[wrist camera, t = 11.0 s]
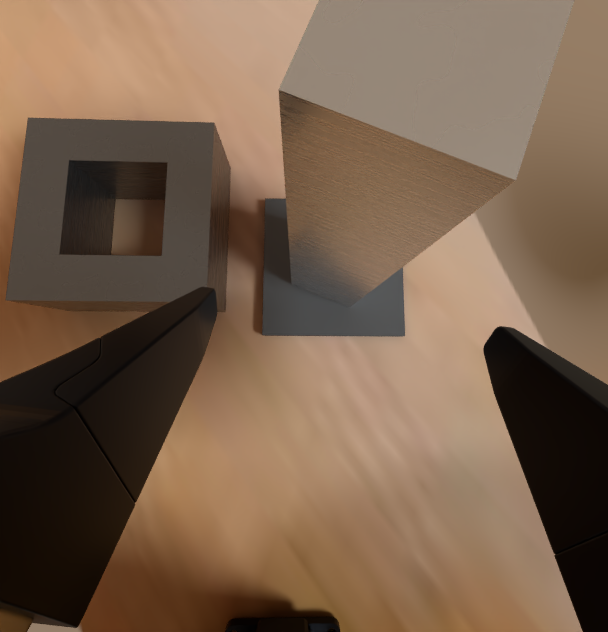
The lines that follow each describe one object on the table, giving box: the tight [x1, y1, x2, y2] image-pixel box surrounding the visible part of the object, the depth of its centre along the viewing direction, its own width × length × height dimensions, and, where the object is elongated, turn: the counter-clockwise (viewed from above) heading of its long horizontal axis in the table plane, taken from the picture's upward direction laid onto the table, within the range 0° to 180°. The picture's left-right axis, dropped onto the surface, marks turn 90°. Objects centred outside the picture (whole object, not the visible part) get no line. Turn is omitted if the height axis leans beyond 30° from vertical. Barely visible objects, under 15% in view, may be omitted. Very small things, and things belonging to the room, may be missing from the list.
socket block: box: [6, 118, 231, 312], centre depth 17 cm, size 10×10×4 cm
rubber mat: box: [262, 199, 405, 336], centre depth 19 cm, size 9×9×1 cm
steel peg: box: [279, 0, 574, 307], centre depth 12 cm, size 4×4×14 cm
